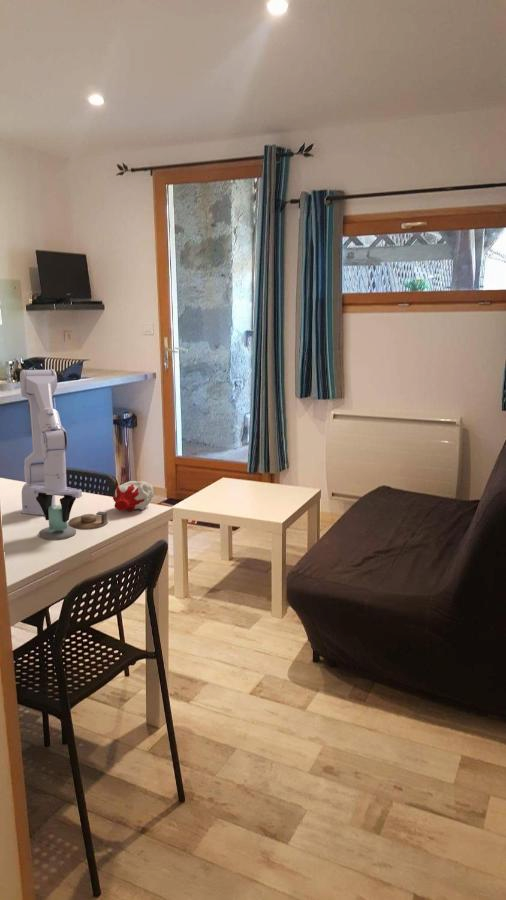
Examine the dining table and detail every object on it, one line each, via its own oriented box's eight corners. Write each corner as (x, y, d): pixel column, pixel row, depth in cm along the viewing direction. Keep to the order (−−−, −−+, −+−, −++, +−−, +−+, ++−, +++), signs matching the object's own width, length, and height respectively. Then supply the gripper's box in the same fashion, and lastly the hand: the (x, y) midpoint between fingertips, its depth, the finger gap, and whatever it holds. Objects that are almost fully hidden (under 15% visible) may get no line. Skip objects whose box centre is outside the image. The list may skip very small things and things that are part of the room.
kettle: (55, 524, 186) (54, 503, 185) (70, 526, 185) (69, 504, 184) (42, 531, 180) (41, 509, 179) (57, 533, 179) (56, 511, 178)
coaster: (32, 537, 180) (31, 535, 180) (50, 526, 189) (50, 524, 189) (65, 541, 178) (65, 539, 178) (82, 529, 187) (82, 527, 187)
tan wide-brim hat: (61, 527, 189) (61, 515, 188) (79, 515, 200) (79, 504, 199) (97, 530, 187) (97, 519, 186) (114, 518, 198) (113, 507, 197)
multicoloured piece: (155, 502, 213) (139, 522, 199) (123, 499, 215) (104, 519, 201) (154, 477, 210) (137, 495, 196) (121, 474, 212) (102, 492, 198)
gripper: (23, 474, 178) (25, 522, 180) (72, 478, 175) (74, 527, 178) (37, 468, 184) (39, 514, 187) (84, 472, 181) (86, 519, 184)
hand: (57, 520), depth 183 cm, fingers closed on kettle, 5 cm apart
